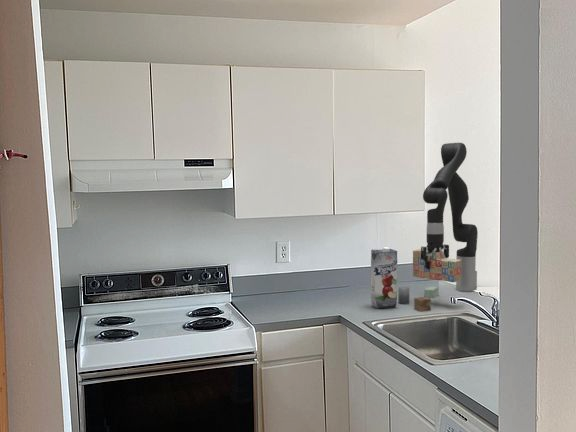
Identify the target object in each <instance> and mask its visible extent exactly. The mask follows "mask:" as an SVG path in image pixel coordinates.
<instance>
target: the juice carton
mask: <svg viewBox="0 0 576 432" xmlns="http://www.w3.org/2000/svg"><path fill="white" fill-rule="evenodd" d="M370 252H371V254H370V299H371V306H373V307H374V308H377V309H378V310H383V309H393V308H396V307H397V304H398V303H397V301H398V251H397V250H396V249H391V248H390V247H387V246H384V247H382V249H378V248H377V249H376V248H375V249H371V250H370Z"/></svg>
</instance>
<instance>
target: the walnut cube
mask: <svg viewBox="0 0 576 432" xmlns="http://www.w3.org/2000/svg"><path fill="white" fill-rule="evenodd" d="M431 299H432V298H426V297H424V296H420V297H414V299H413V300H414V301H413V302H414V303H413V309H414V310H415V311H418V312H421V313H422V312H429V311H431V308H432V305H431V304H432V303H431V301H432V300H431Z"/></svg>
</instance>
